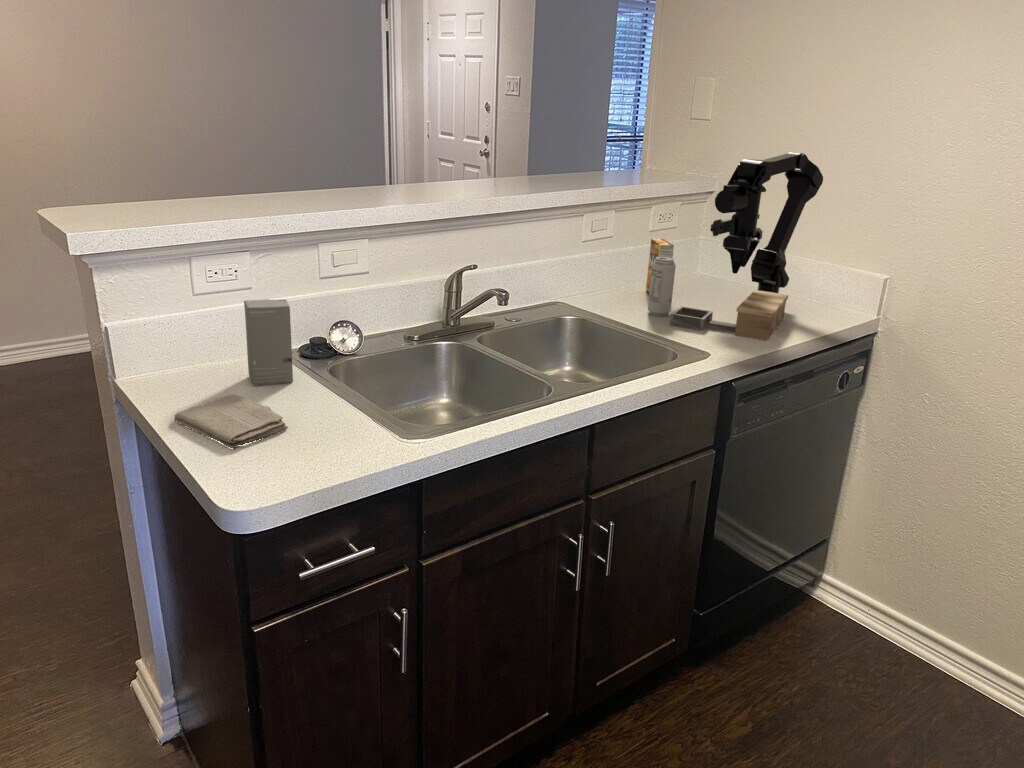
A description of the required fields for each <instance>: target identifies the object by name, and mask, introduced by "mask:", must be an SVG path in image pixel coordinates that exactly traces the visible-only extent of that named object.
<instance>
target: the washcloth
mask: <svg viewBox="0 0 1024 768" xmlns="http://www.w3.org/2000/svg"><path fill="white" fill-rule="evenodd" d="M173 417H174V419H173V421H174V422H176V421H177V422H178V423H177V422H176V423H177V424H179V423H180V424H179V425H180V426H183V425H184V427H185V426H187V427H189V428H191V429H190V430H192V429H193V430H195V431H197V432H196V433H197V434H199V433H201V434H203V435H202V436H204V435H205V436H208V437H210V438H213V439H215V440H217V441H220V442H221V443H223V444H224V445H226V446H228V447H230V448H234V447H235V448H237V447H236V446H238V445H243V444H245V443H249V442H253V441H255V440H256V441H257V440H259V439H262V438H264V439H266V438H265V437H267V436H270V437H272V436H271V435H273V434H275V435H277V434H276V433H278V432H280V433H282V432H281V431H283V430H284V431H286V430H287V429H288V426H287V425H286V422H284V421H283V418H284V417H283V415H281V414H278V413H277V412H275V411H274V410H272V409H271V407H270V406H268V405H263V404H260V403H257V402H255V401H254V400H251V399H249V398H245V397H243V396H240V395H239V394H236V393H230V394H225V395H223V396H220V397H218V398H215V399H213V400H212V401H209V402H207V403H204V404H199V405H196V406H192V407H191V408H186V409H183V410H181V411H179V412H178V411H177V413H175V414H174V416H173ZM187 427H186V428H187ZM189 428H188V429H189ZM193 430H192V431H193ZM195 431H194V432H195ZM284 431H283V432H284ZM201 434H200V435H201ZM278 434H279V433H278ZM205 436H204V437H205ZM273 436H274V435H273ZM208 437H207V438H208ZM210 438H209V439H210ZM267 438H268V437H267ZM262 440H263V439H262ZM259 441H260V440H259ZM257 442H258V441H257ZM235 448H234V449H235Z"/></svg>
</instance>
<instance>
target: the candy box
mask: <svg viewBox="0 0 1024 768" xmlns="http://www.w3.org/2000/svg"><path fill="white" fill-rule="evenodd" d="M674 246H675V245H674V244H672V243H671V242H670V241H668V240H666V239H664V238H651V239H650V248H649V255H648V256H649V258H648V266H647V272H646V273H647V275H646V283H645V290H646V291H647V292H648V293H649V292H650V282H651V272H652V263H653V262H654V260H655V257H658V256H666V257H671V258H673V257H674Z"/></svg>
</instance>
